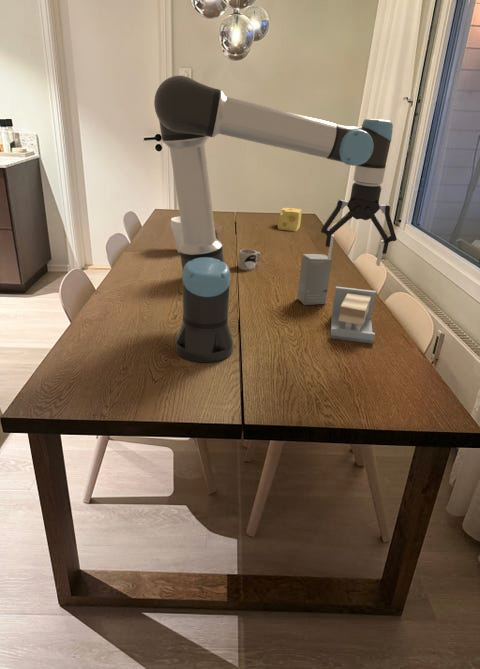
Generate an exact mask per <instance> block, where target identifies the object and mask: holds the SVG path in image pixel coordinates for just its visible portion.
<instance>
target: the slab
mask: <svg viewBox="0 0 480 669" xmlns="http://www.w3.org/2000/svg"><path fill="white" fill-rule="evenodd" d="M370 300H371V297H369V296H363V295H358V294H352V293H347V295H346V297H345V299H344V301H343V303H342V305H341V307H340V313H339V320H338V321H343V322H348V323H353V324H358V325H363V324H364V321H365V318H366V316H367V313H368V311H369V305H370Z"/></svg>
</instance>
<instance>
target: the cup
mask: <svg viewBox="0 0 480 669" xmlns="http://www.w3.org/2000/svg"><path fill="white" fill-rule="evenodd" d="M170 228H171V230H172V234H173V238H174V243H175V247H176V248H175V249H176V250H177V251H176V252H177V253H179V254H180V250H179V249H180V247H181V246H182V245H183V243H184V239H183V232H182V226H181V219H180V216H174V217H171V218H170Z"/></svg>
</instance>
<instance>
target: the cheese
mask: <svg viewBox="0 0 480 669" xmlns="http://www.w3.org/2000/svg"><path fill="white" fill-rule="evenodd" d="M302 212H303V210H302V209H301V208H293V207H282V208H281V210H280V214H279V216H278V223H277V230H280V231H282V230H283V231H289V232H295V233H296V232H297V231H298V230H299V229H300V228H301V227H300V226H301V221H302Z"/></svg>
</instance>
